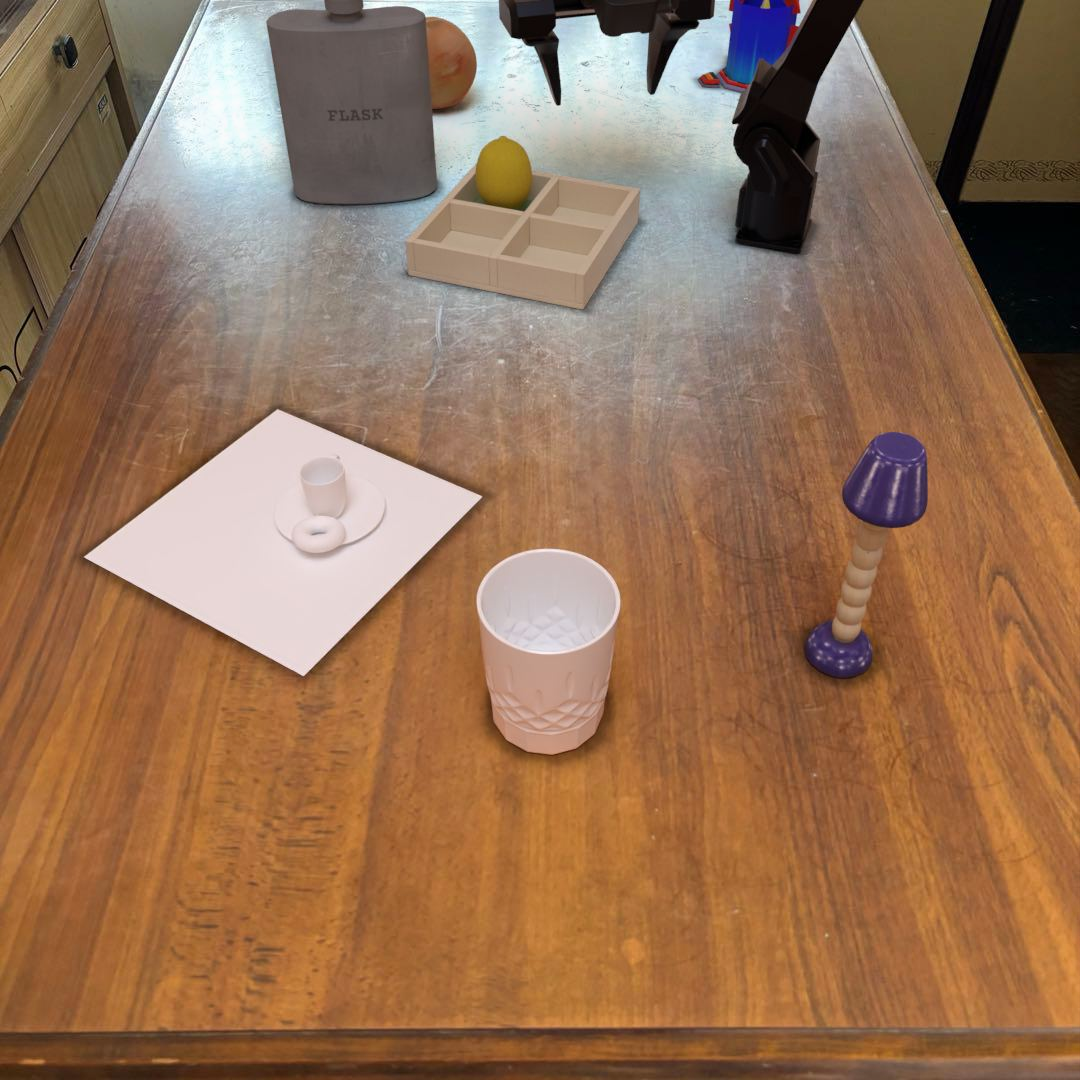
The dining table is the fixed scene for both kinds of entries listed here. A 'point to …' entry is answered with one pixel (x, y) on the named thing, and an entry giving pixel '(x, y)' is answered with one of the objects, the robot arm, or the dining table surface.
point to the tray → (527, 239)
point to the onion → (449, 62)
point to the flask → (355, 102)
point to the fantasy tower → (754, 40)
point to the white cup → (548, 646)
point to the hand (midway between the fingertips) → (604, 98)
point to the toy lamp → (870, 544)
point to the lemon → (503, 174)
